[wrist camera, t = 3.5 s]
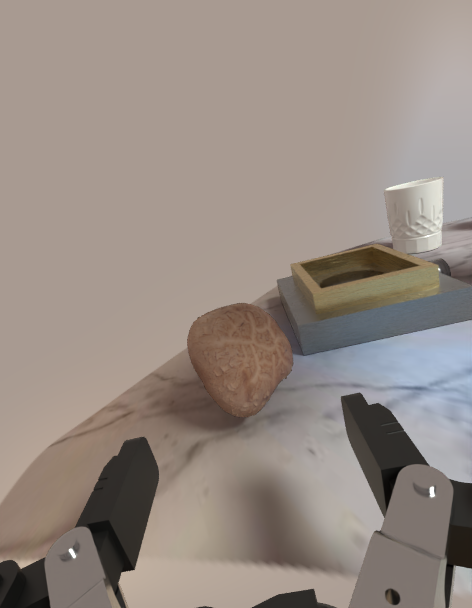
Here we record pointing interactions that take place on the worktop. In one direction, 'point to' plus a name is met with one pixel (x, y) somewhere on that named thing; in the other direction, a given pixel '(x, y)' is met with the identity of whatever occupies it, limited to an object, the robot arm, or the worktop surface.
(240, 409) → the mushroom
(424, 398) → the worktop surface
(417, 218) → the white cup
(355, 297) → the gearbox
